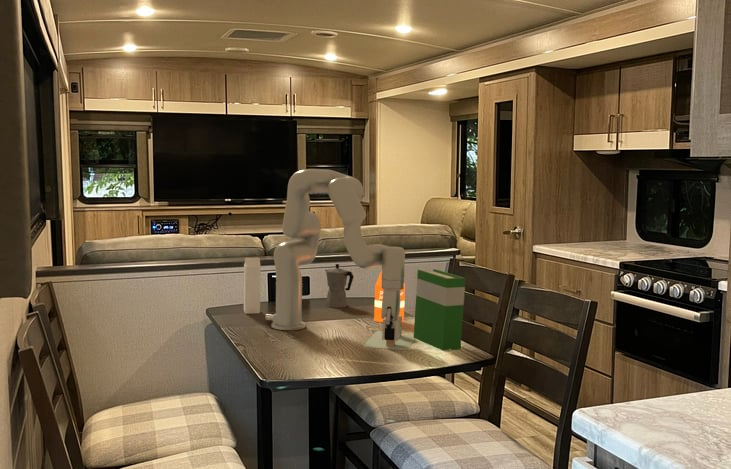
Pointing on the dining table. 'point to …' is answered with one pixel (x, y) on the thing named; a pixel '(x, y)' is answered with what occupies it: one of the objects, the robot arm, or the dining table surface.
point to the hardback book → (439, 309)
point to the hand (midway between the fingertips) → (390, 337)
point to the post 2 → (400, 325)
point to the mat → (401, 344)
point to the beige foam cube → (396, 326)
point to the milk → (252, 285)
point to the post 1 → (390, 343)
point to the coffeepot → (337, 287)
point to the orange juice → (379, 301)
